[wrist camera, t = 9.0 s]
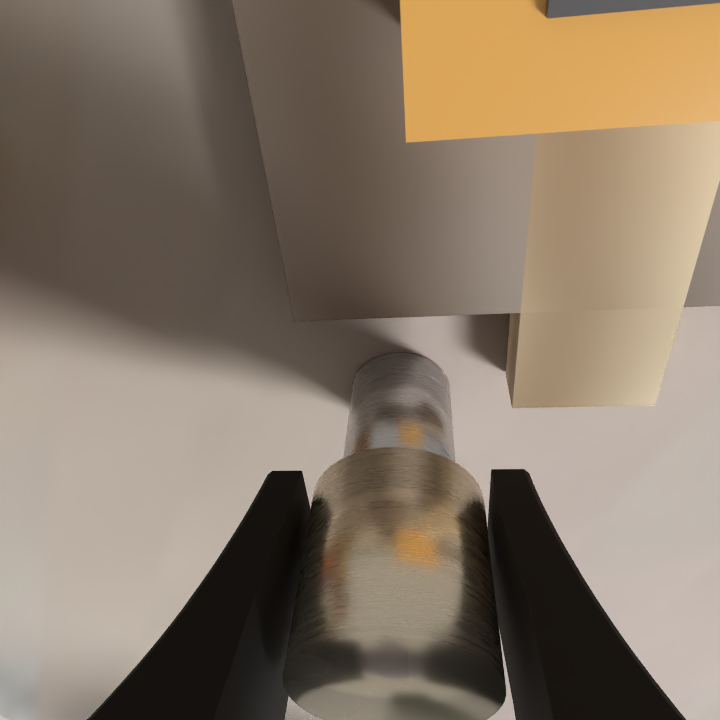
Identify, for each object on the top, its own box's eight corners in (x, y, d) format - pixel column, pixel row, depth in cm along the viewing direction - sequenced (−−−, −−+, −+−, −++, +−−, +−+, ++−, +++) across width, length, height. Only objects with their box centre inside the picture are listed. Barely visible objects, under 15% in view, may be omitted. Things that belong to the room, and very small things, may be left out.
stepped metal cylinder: (472, 332, 13) (513, 638, 8) (469, 438, 15) (500, 740, 10) (323, 337, 14) (263, 632, 8) (340, 440, 16) (300, 731, 10)
